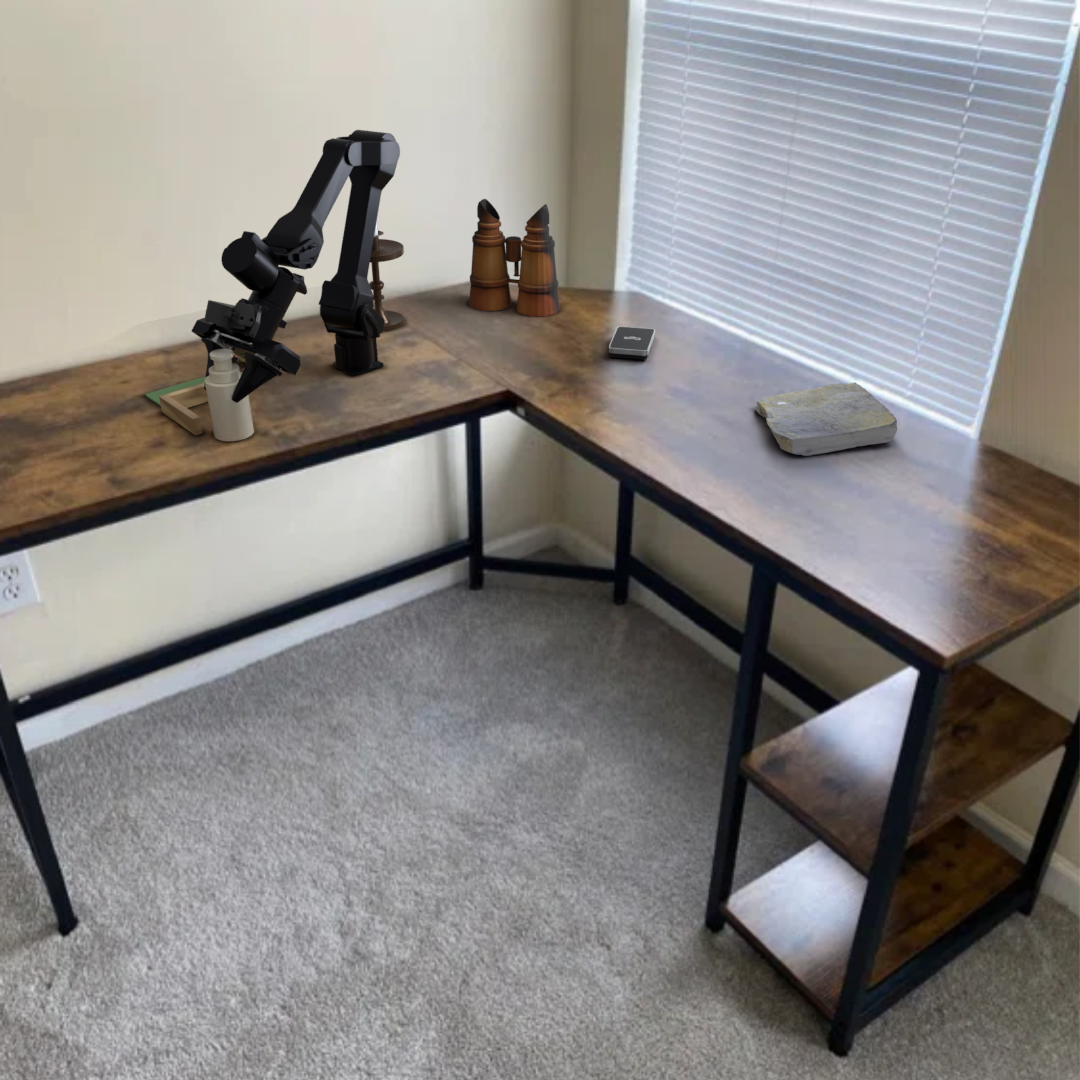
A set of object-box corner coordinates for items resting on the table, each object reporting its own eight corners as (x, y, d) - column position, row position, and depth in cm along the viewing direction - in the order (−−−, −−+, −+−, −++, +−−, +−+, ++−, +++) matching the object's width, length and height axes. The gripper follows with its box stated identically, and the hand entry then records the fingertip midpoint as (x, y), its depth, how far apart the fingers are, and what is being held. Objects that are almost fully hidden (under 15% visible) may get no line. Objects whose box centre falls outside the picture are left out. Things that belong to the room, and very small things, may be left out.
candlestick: (420, 322, 212) (409, 129, 194) (377, 337, 205) (361, 139, 187) (381, 309, 218) (367, 120, 200) (338, 324, 211) (319, 130, 193)
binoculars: (462, 308, 219) (458, 204, 209) (477, 294, 226) (474, 193, 215) (552, 318, 214) (552, 213, 204) (565, 304, 221) (566, 201, 210)
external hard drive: (654, 339, 205) (655, 328, 204) (647, 362, 196) (647, 351, 195) (617, 336, 206) (617, 326, 205) (607, 358, 197) (608, 348, 196)
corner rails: (234, 390, 185) (231, 374, 184) (269, 411, 178) (267, 395, 177) (161, 412, 178) (158, 396, 176) (195, 435, 171) (192, 419, 169)
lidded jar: (241, 421, 175) (229, 342, 168) (261, 433, 171) (249, 353, 165) (206, 432, 172) (192, 352, 165) (226, 445, 168) (213, 364, 161)
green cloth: (211, 376, 190) (211, 374, 190) (229, 387, 186) (228, 385, 186) (144, 396, 183) (144, 394, 183) (161, 407, 179) (161, 405, 179)
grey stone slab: (736, 416, 179) (781, 458, 164) (739, 389, 176) (785, 429, 161) (851, 408, 183) (905, 448, 168) (855, 381, 181) (910, 419, 166)
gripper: (191, 265, 167) (142, 357, 165) (275, 290, 157) (224, 388, 155) (240, 302, 176) (194, 389, 175) (322, 327, 167) (275, 420, 165)
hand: (220, 396), depth 167 cm, fingers closed on lidded jar, 6 cm apart
